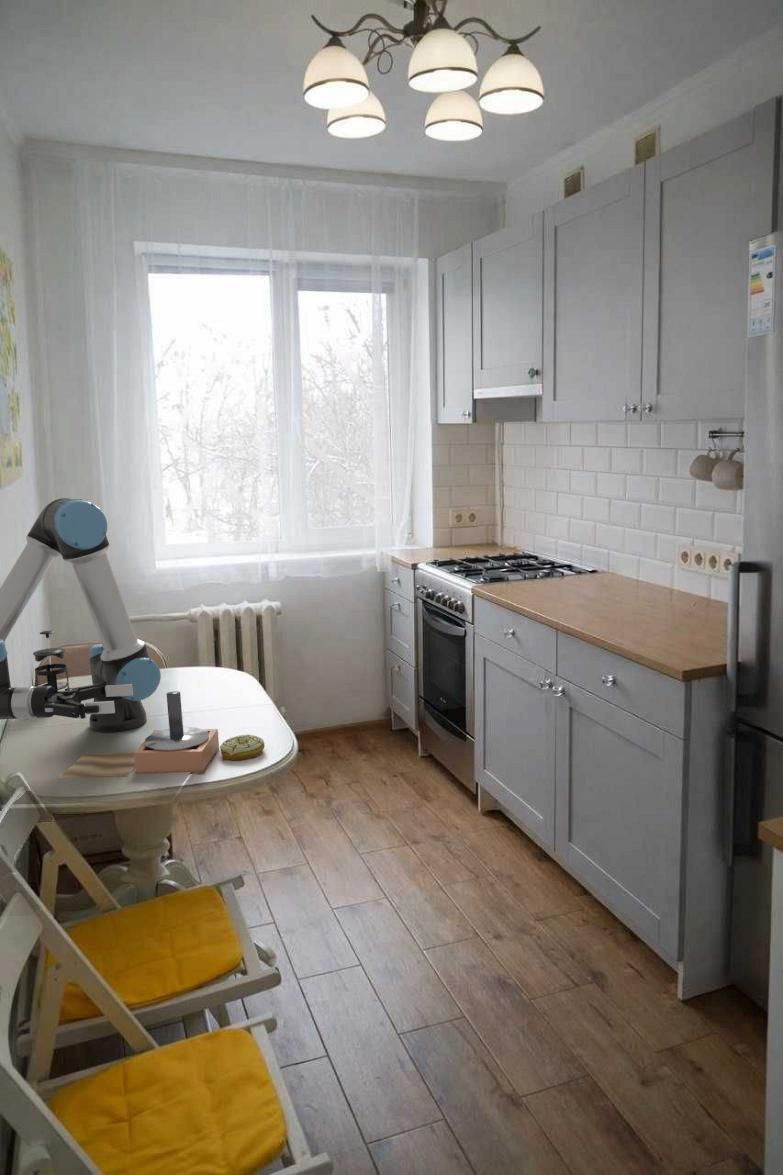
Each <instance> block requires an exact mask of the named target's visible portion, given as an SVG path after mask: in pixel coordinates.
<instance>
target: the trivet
mask: <svg viewBox="0 0 783 1175" xmlns="http://www.w3.org/2000/svg"><path fill="white" fill-rule="evenodd" d="M134 752H135V751H133V752H130V751H129V752H99V753H98V752H95V753H90V752H89V753H83V754H82V755H81V756H80V757H79V758H78V759H77V760H76V761H74V763H73V764H72V765H71V766H70V767H68V768H67V769H66V770H65V772H63V773H62V774H61V775H60V776H58V779H72V778H73V779H76V778H77V779H79V778H81V779H83V778H119V777H121V778H123V777H128V776H129V775H130V773H131V772H132V771H133V770H134V769H135V760H134Z"/></svg>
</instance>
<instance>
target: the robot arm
mask: <svg viewBox="0 0 783 1175" xmlns="http://www.w3.org/2000/svg"><path fill="white" fill-rule="evenodd" d="M107 531H108V520H107V517H106V515H105V513H104V512H103V510H102V509H101V508H100V507H99V506H97V505H96V504H94V503H92V501H91V502H90V501H88V500H87V499H86V500H85V499H82V498H81V499H79V498H75V499H74V498H73V499H72V498H65V497H64V498H63V497H61V498H58V499H54V500H53V501H51V502H49V503H48V504H47V505H45V506H44V508H43V509H42V510H41V512H40V513H39V515H38V517H37V518H36V520H35V522H34V523H33V524H32V526H31V529H30V530H29V532H28V533H27V535H26V537H25V538H26V545H25V546H24V548H23V549H22V551H21V553H20V555H19V556H18V558H17V560H16V561H15V563H14V564H13V566H12V568H11V570H10V571H9V573H8V574H7V576H6V577H5V579H4V581H3V582H2V584H1V586H0V721H1V720H16V719H17V720H18V719H24V720H25V721H28V720H29V719H35V718H37V719H44V718H45V719H46V718H52V717H53V716H57V717H66V718H73V719H79V718H80V719H81V720H83V719H86V718H87V716H86V715H90V716H89V719H88V720H89V729H90V730H92V731H95V732H98V731H99V732H100V733H117V731H118V732H123V731H129V730H132V729H136V728H139V727H141V726H142V725H145V723H147V721H148V718H147V711H146V710H145V707H144V705H143V703H142V701H143V700H146V699H147V698H150V697H151V696H152V695H153V694H154V693H155V692H156V690H157V689H158V688H159V685H160V683H161V678H162V677H161V670H160V667H159V666H158V664H157V663H156V662H155V661H154V660H153V659H152V658H151V657H150V654H149V651H148V649H147V645H146V643H145V641H144V640H143V639H139V638H138V637H137V636H136V633H135V631H134V628H133V624H132V623H131V619H130V616H129V614H128V611H127V608H126V605H125V602H124V599H123V597H122V594H121V591H120V587H119V586H118V583H117V580H116V577H115V575H114V572H113V569H112V567H111V564H110V561H109V557H108V555H107V552H108V550H109V547H110V542H109V540H108V537H107V533H108V532H107ZM58 557H62V560H63V561H65V562H67V563H70V564H71V565H72V568H73V570H74V574H75V576H76V579H77V581H78V584H79V587H80V589H81V592H82V594H83V597H84V599H85V602H86V606H87V608H88V611H89V614H90V616H91V619H92V621H93V623H94V624H93V625H94V627H95V629H96V632H97V635H98V637H99V640H100V643H99V644H96V645H92V647H91V648H89V659H88V660H89V662H90V664H89V665H90V673H91V681H92V684H90V685H83V686H77V687H69V688H68V687H66V688H64V690H61V691H62V692H61V693H57V692H56V691H55V689H54V688H53V687H52V686H40V685H38V687H37V686H20V687H19V686H16V687H12V684H11V677H10V668H9V661H8V651H7V648H6V642H5V641H6V639H7V638H8V636H9V635H10V633H11V631H12V630H13V628H14V626H15V625H16V623H17V621H18V620H19V618H20V616H21V615H22V613H23V612H24V610H25V608H26V607H27V605H28V603H29V602H30V599H31V598H32V597H33V595H34V593H35V592H36V590H37V588H38V587H39V585H40V583H41V581H42V580H43V579H44V577H45V575H46V573H47V572H48V570H49V569H50V567H51V566H52V564H53V562H54V560H55V559H56V558H58ZM91 699H93V701H88V700H91ZM84 701H86V702H85V703H82V702H84ZM87 701H88V702H87Z"/></svg>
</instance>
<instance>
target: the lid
mask: <svg viewBox="0 0 783 1175" xmlns="http://www.w3.org/2000/svg"><path fill="white" fill-rule="evenodd" d="M181 698H182V697H181V691H177V690H176V691H169V692H167V693H166V703H167V715H168V716H167V717H168V729H167V728H166V729H163V730H162V729H161V730H162V731H159V732H156V733H153V732H152V733H153V734H152V733H151V734H150V735H148V736H147V737H146V738H145V739H144V741H145V746H146V747H147V748H149V749H151V750H155V751H179V750H185V749H190V748H194V747H197V746H199V745H201V744H203V743H205V742H206V741H207V740H208V739H209V733H208V732H207V731H206V730H204V729H205V728H200V727H193V726H191V727H190V726H184V725H183V722H184V721H183V713H182V712H183V710H182V699H181Z"/></svg>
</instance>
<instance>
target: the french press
mask: <svg viewBox="0 0 783 1175" xmlns="http://www.w3.org/2000/svg"><path fill="white" fill-rule="evenodd" d="M54 633H55V630H43V631H40V632H39V634H40V635H45V638H46V641H47V648H44V649H39V650H36V651H34V652H32V655H33V656H34V659H35V661H36V662H42V661H43V660H45V659H46V658H48V659H49V663H46V664H44V665H40V666H37V667H35V668H34V675H35V683H36V684H35V685H36V686H35V687H38V686H52V687H53V688H54V689H55V691H56V692H57V693H61V692H62V691H63V690H64V689H66V688H70V686H69V683H70V682H69V675H68V667H67V664H66V663H65V664H64V663H52V660H51V659H52V658H51V656H54V657H57V658H59V659H64V658H65V652H66V649H64V648H62V647H61V648H60V647H50V642H49V641H50V639H49V638H50V634H51V635H52V634H54ZM64 673H65V674H66V681H58V678H57V675H60V674H64ZM38 676H40V677H44V676H46V683H42V684H40V685H38ZM60 690H61V691H60Z"/></svg>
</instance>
